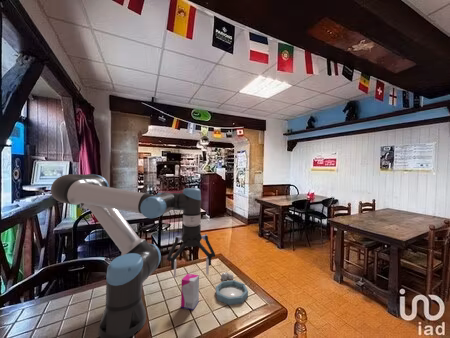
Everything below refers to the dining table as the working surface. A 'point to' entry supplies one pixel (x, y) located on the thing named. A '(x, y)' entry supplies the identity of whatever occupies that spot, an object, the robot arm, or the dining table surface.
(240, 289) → the dish
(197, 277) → the supplement box
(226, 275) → the pebble pile
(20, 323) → the dining table surface
